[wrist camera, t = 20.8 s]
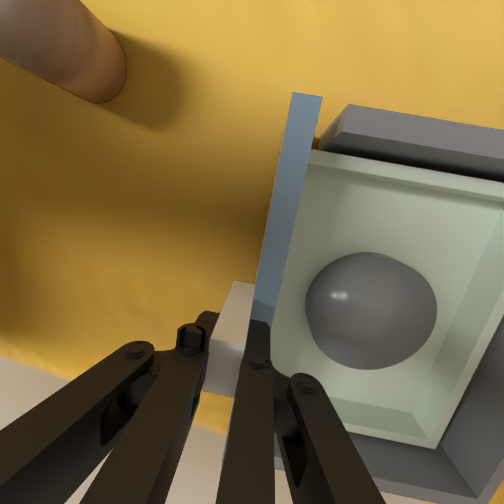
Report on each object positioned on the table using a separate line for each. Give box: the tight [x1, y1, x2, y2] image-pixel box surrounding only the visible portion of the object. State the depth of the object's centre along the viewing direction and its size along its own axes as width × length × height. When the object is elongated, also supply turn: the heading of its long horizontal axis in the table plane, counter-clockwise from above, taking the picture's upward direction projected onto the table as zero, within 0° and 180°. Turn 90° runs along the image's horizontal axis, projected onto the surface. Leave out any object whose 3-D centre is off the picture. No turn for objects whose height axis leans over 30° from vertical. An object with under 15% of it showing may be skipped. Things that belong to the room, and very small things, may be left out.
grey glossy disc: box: [305, 252, 437, 370], centre depth 18 cm, size 9×9×2 cm
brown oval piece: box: [0, 0, 126, 103], centre depth 14 cm, size 5×5×6 cm
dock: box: [274, 104, 504, 504], centre depth 17 cm, size 16×24×6 cm
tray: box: [222, 92, 504, 463], centre depth 17 cm, size 17×24×6 cm
